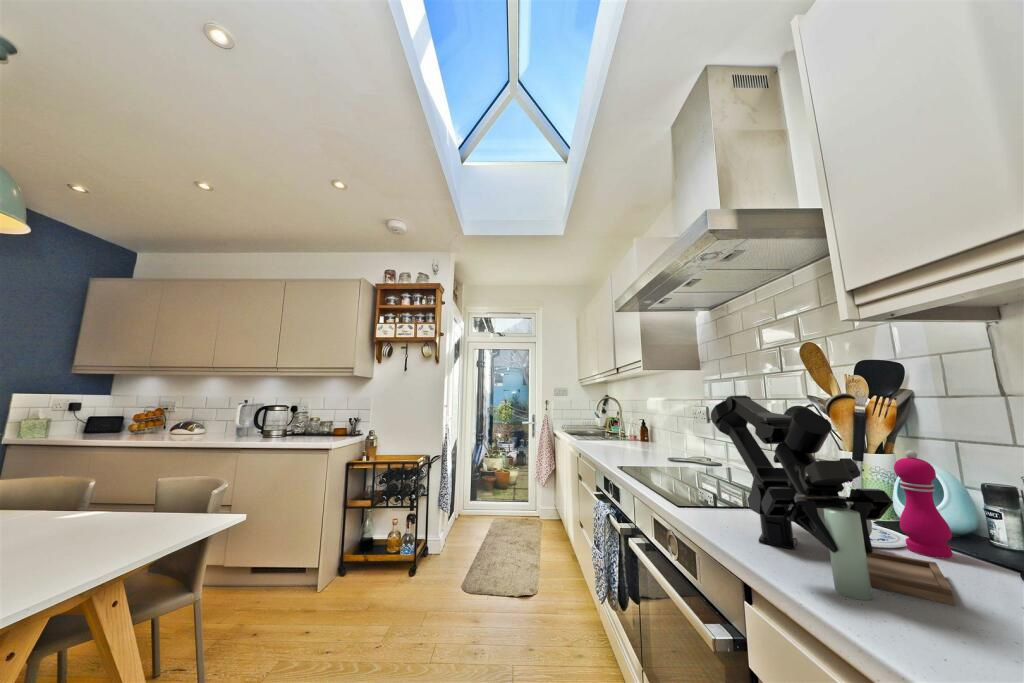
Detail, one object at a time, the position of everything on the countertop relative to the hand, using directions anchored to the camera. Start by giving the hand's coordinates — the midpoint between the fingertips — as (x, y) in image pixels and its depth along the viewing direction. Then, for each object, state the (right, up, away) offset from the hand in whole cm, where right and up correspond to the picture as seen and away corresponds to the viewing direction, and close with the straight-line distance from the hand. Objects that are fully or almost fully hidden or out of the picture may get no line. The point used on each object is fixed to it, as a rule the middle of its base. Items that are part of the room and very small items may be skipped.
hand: (852, 552), depth 60 cm
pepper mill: (+30, -9, +16) cm, 35 cm away
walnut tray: (+11, -7, +5) cm, 15 cm away
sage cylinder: (0, -7, 0) cm, 7 cm away
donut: (+17, -10, +20) cm, 28 cm away
